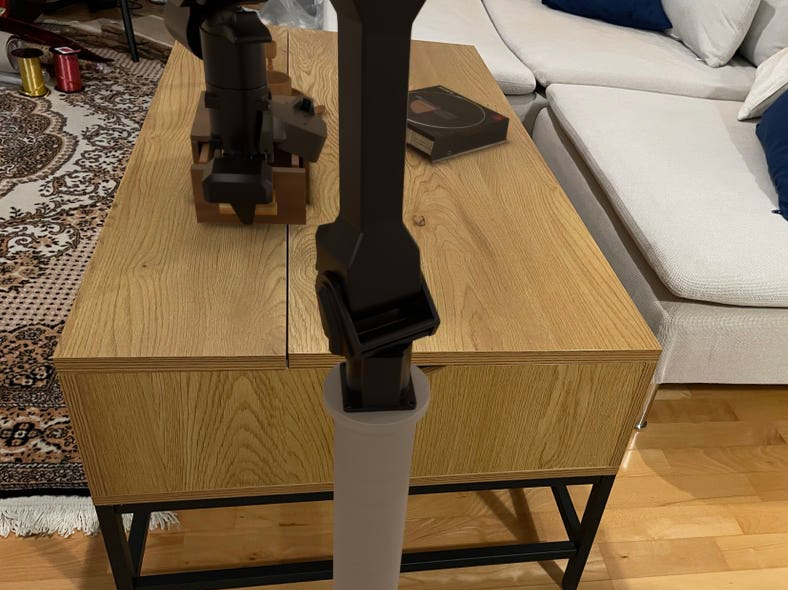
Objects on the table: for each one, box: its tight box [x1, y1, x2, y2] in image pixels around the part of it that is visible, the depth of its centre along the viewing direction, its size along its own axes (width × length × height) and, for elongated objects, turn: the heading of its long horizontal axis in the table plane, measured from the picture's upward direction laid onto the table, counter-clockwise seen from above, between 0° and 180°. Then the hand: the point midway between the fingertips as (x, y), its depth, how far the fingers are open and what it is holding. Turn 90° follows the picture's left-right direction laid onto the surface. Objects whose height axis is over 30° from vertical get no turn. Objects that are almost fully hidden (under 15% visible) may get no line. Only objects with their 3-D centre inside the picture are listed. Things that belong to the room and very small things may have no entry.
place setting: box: [265, 39, 327, 115], centre depth 115 cm, size 18×20×6 cm
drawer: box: [189, 142, 307, 226], centre depth 85 cm, size 18×12×7 cm
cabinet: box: [189, 90, 311, 205], centre depth 92 cm, size 15×14×9 cm
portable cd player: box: [406, 84, 510, 164], centre depth 113 cm, size 16×17×4 cm
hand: (248, 223), depth 77 cm, fingers closed
